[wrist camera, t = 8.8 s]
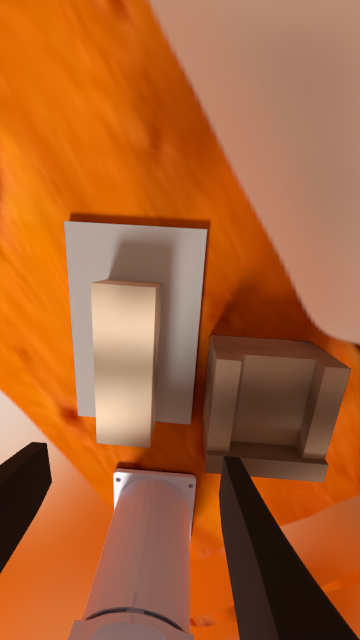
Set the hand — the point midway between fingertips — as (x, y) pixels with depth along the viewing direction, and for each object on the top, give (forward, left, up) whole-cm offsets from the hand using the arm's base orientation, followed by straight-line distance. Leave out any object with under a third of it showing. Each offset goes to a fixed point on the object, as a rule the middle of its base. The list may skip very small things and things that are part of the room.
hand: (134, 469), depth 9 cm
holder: (-2, -8, -10) cm, 13 cm away
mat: (+2, +2, -10) cm, 11 cm away
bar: (+1, +2, -9) cm, 10 cm away
